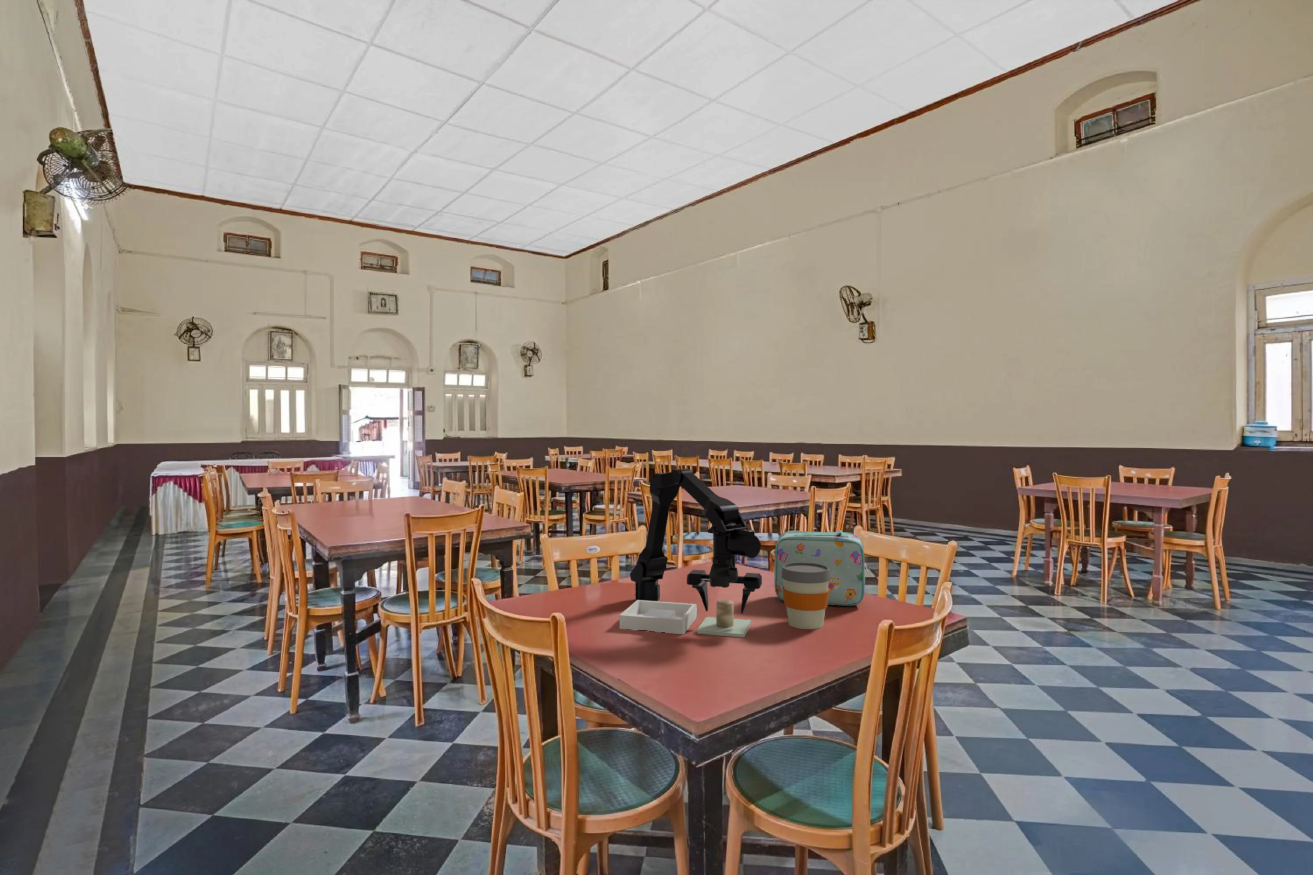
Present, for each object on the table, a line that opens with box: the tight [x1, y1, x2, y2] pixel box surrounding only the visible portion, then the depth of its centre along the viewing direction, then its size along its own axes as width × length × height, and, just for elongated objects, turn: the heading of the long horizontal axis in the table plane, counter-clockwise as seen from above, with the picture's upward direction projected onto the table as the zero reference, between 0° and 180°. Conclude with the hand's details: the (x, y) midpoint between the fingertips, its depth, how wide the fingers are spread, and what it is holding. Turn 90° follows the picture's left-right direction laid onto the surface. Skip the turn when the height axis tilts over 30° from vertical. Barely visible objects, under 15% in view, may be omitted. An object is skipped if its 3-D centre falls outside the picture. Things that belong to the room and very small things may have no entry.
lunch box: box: [773, 530, 869, 607], centre depth 195 cm, size 27×10×21 cm, turn 74°
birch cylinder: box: [715, 599, 735, 628], centre depth 171 cm, size 4×4×6 cm
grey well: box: [619, 600, 698, 635], centre depth 176 cm, size 17×15×4 cm
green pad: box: [696, 616, 752, 638], centre depth 171 cm, size 12×12×1 cm
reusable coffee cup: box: [781, 562, 830, 630], centre depth 174 cm, size 13×13×15 cm
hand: (724, 612), depth 171 cm, fingers open, 9 cm apart
